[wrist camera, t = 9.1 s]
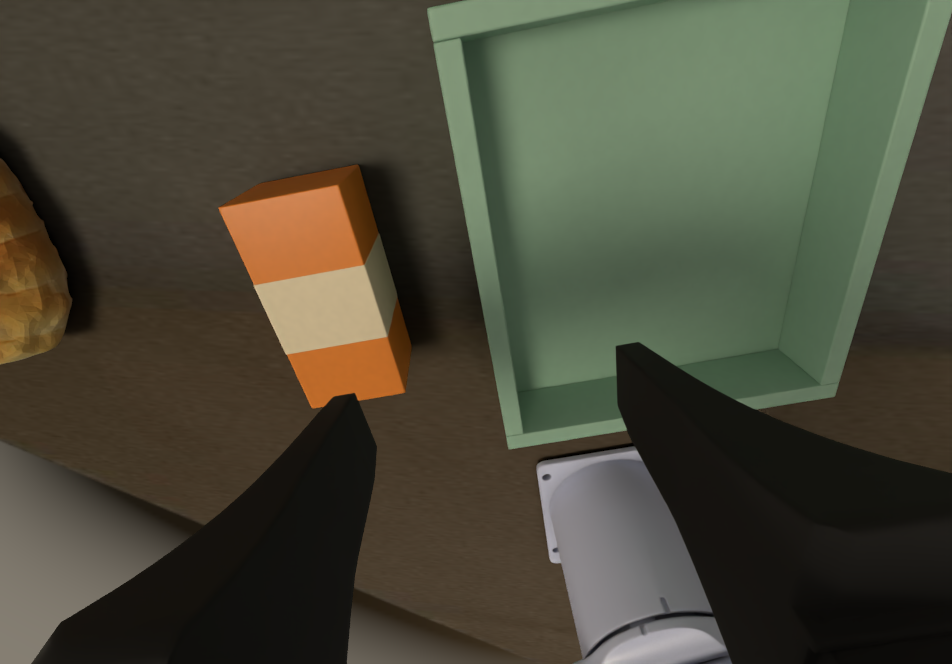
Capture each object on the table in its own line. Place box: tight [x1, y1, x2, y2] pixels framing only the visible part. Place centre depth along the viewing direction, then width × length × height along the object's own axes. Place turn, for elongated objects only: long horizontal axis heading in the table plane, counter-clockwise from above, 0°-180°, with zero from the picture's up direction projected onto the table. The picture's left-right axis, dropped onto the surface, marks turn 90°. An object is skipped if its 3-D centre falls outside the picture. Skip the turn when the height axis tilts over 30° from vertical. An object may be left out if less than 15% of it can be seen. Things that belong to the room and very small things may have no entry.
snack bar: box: [219, 165, 412, 408], centre depth 18 cm, size 8×4×4 cm, turn 10°
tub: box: [427, 0, 952, 449], centre depth 17 cm, size 17×15×4 cm
